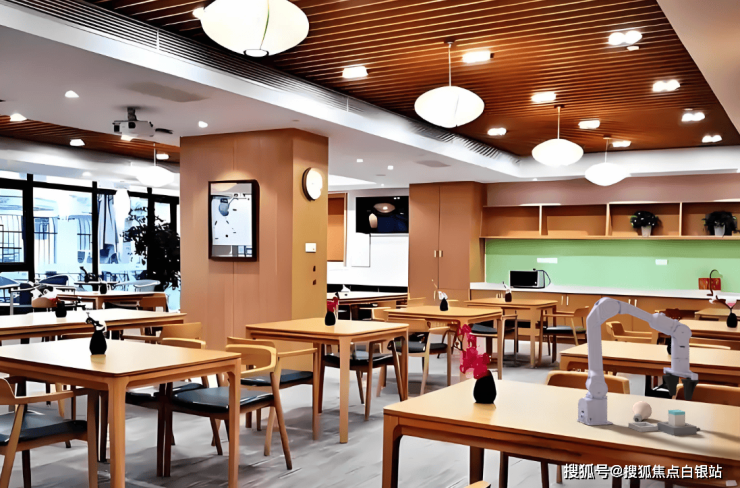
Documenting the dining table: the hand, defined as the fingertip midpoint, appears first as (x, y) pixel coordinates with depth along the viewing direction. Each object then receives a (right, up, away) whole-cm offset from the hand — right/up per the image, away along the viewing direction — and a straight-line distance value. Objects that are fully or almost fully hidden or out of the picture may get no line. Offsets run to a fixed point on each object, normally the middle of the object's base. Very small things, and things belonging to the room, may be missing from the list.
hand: (680, 397), depth 236 cm
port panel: (-2, -10, -7) cm, 12 cm away
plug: (-5, -10, -8) cm, 13 cm away
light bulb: (-10, -10, +9) cm, 17 cm away
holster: (-15, -10, -4) cm, 18 cm away
